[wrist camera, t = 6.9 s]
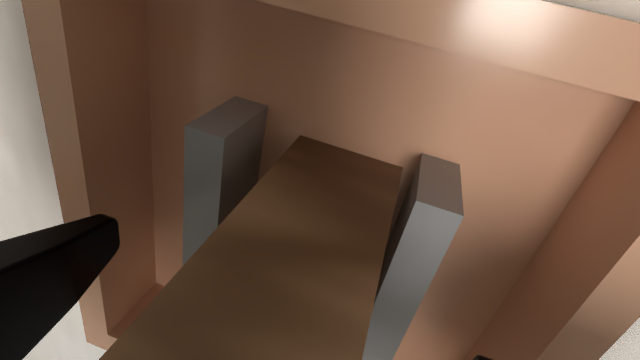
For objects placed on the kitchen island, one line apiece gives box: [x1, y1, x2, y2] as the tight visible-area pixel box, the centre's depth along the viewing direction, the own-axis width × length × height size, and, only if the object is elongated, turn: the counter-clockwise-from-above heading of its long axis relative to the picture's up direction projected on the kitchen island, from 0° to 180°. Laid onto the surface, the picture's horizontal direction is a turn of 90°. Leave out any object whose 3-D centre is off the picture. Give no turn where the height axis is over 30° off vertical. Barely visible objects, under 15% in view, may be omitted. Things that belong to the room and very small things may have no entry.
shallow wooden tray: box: [21, 0, 640, 360], centre depth 11 cm, size 14×14×4 cm
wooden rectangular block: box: [99, 135, 403, 360], centre depth 8 cm, size 3×5×8 cm, turn 168°
